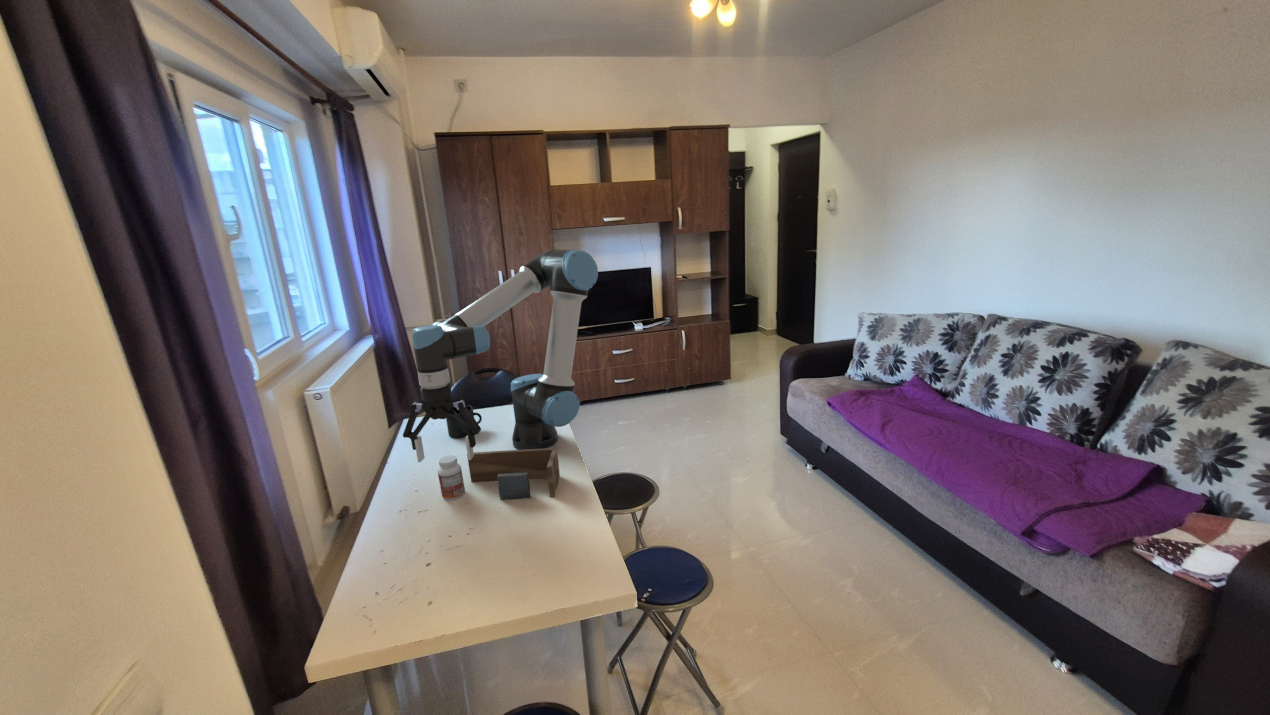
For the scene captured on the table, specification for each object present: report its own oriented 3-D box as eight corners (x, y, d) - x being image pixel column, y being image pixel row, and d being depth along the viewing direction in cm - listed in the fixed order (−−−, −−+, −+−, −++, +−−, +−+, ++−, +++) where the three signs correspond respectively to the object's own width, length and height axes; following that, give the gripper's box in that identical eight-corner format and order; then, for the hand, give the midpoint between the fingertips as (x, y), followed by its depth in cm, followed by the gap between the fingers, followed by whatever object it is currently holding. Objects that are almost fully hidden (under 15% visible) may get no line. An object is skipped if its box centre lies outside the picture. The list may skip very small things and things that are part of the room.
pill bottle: (446, 489, 148) (440, 454, 145) (468, 488, 148) (462, 453, 145) (438, 501, 142) (432, 464, 139) (461, 500, 142) (455, 463, 139)
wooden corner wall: (472, 480, 152) (468, 452, 150) (560, 475, 152) (557, 447, 150) (460, 501, 141) (455, 471, 139) (554, 496, 141) (551, 466, 139)
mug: (483, 434, 185) (480, 410, 182) (448, 440, 182) (444, 416, 179) (483, 425, 193) (479, 402, 191) (449, 430, 190) (445, 407, 188)
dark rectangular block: (501, 496, 143) (498, 473, 141) (530, 495, 142) (527, 472, 141) (500, 499, 141) (497, 476, 139) (529, 498, 141) (526, 475, 139)
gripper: (381, 391, 133) (394, 467, 138) (478, 387, 133) (488, 463, 138) (394, 382, 140) (406, 454, 145) (486, 378, 140) (495, 451, 145)
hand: (446, 459), depth 142 cm, fingers open, 13 cm apart
